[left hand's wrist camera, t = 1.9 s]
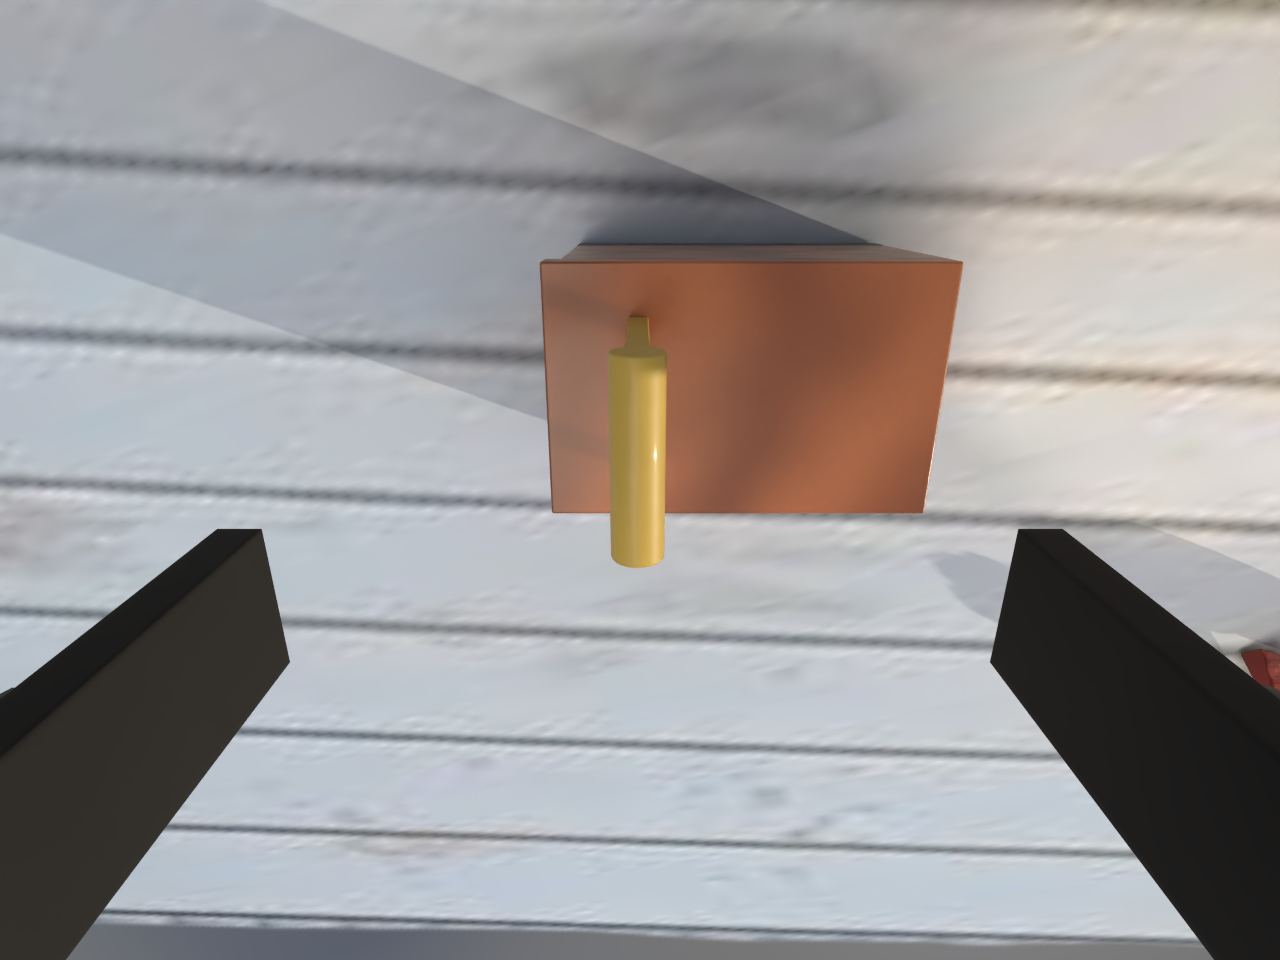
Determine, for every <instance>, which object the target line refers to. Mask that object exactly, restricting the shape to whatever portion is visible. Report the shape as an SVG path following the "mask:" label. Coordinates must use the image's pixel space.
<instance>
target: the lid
mask: <svg viewBox="0 0 1280 960" xmlns="http://www.w3.org/2000/svg"><path fill="white" fill-rule="evenodd" d="M962 268H963V262H961V261H956V260H951V259H545V260H543V261H542V262H540V277H541V298H542V318H543V338H544V359H545V379H546V399H547V419H548V440H549V460H550V480H551V501H552V512H553V513H610V521H611V556H612V559H613V560H614V561H615V562H616V563H618V564H620V565H622V566H626V567H632V568H643V567H649V566H653V565H655V564H657V563H659V562H660V561H661V560H662V559H663V557H664V533H665V513H924V509H925V502H926V496H927V490H928V484H929V477H930V471H931V465H932V458H933V452H934V446H935V439H936V433H937V427H938V420H939V414H940V408H941V401H942V395H943V389H944V382H945V376H946V370H947V363H948V357H949V351H950V344H951V338H952V332H953V325H954V319H955V313H956V306H957V300H958V294H959V287H960V281H961V275H962Z"/></svg>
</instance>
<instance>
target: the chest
mask: <svg viewBox="0 0 1280 960" xmlns="http://www.w3.org/2000/svg"><path fill="white" fill-rule="evenodd" d="M562 259H947V258H942V257H937V256H932V255H927V254H922V253H917V252H912V251H907V250H902V249H897V248H892V247H887V246H883V245H879V244H579V245H578V246H577V247H576V248H575V249H574V250H572V251H571V252H570V253H568V254H567V255H566V256H565V257H563V258H562Z"/></svg>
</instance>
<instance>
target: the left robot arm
mask: <svg viewBox="0 0 1280 960" xmlns="http://www.w3.org/2000/svg"><path fill="white" fill-rule="evenodd" d="M289 663H290V660H289V656H288V651H287V646H286V642H285V637H284V632H283V627H282V623H281V618H280V613H279V609H278V604H277V599H276V595H275V590H274V585H273V580H272V576H271V571H270V566H269V562H268V557H267V552H266V548H265V543H264V538H263V534H262V529H217V530H215V531H214V532H213V533H212V534H210V535H209V536H208V537H207V538H205V539H204V540H203V541H201V542H200V543H199V544H198V545H196V546H195V547H194V548H193V549H191V550H190V551H189V552H187V553H186V554H185V555H184V556H182V557H181V558H180V559H178V560H177V561H176V562H175V563H173V564H172V565H171V566H170V567H168V568H167V569H166V570H164V571H163V572H162V573H161V574H159V575H158V576H157V577H156V578H154V579H153V580H152V581H150V582H149V583H148V584H147V585H145V586H144V587H143V588H142V589H140V590H139V591H138V592H136V593H135V594H134V595H133V596H131V597H130V598H129V599H128V600H126V601H125V602H124V603H122V604H121V605H120V606H119V607H117V608H116V609H115V610H113V611H112V612H111V613H110V614H108V615H107V616H106V617H105V618H103V619H102V620H101V621H99V622H98V623H97V624H96V625H94V626H93V627H92V628H91V629H89V630H88V631H87V632H85V633H84V634H83V635H82V636H80V637H79V638H78V639H77V640H75V641H74V642H73V643H71V644H70V645H69V646H68V647H66V648H65V649H64V650H63V651H61V652H60V653H59V654H57V655H56V656H55V657H54V658H52V659H51V660H50V661H48V662H47V663H46V664H45V665H43V666H42V667H41V668H40V669H38V670H37V671H36V672H34V673H33V674H32V675H31V676H29V677H28V678H27V679H26V680H24V681H23V682H22V683H20V684H19V685H18V686H17V687H15V688H11V689H9V690H7V691H5V692H3V693H1V694H0V960H66V959H67V957H68V956H69V955H70V953H71V952H72V951H73V949H74V948H75V947H76V945H77V944H78V943H79V942H80V940H81V939H82V938H83V936H84V935H85V934H86V932H87V931H88V930H89V928H90V927H91V926H92V924H93V923H94V922H95V920H96V919H97V918H98V916H99V915H100V914H101V912H102V911H103V910H104V908H105V907H106V906H107V904H108V903H109V902H110V900H111V899H112V898H113V896H114V895H115V894H116V892H117V891H118V890H119V888H120V887H121V886H122V884H123V883H124V882H125V880H126V879H127V878H128V876H129V875H130V874H131V872H132V871H133V870H134V869H135V867H136V866H137V865H138V863H139V862H140V861H141V859H142V858H143V857H144V855H145V854H146V853H147V851H148V850H149V849H150V847H151V846H152V845H153V843H154V842H155V841H156V839H157V838H158V837H159V835H160V834H161V833H162V831H163V830H164V829H165V827H166V826H167V825H168V823H169V822H170V821H171V819H172V818H173V817H174V815H175V814H176V813H177V811H178V810H179V809H180V807H181V806H182V805H183V803H184V802H185V801H186V799H187V798H188V797H189V795H190V794H191V793H192V792H193V790H194V789H195V788H196V786H197V785H198V784H199V782H200V781H201V780H202V778H203V777H204V776H205V774H206V773H207V772H208V770H209V769H210V768H211V766H212V765H213V764H214V762H215V761H216V760H217V758H218V757H219V756H220V754H221V753H222V752H223V750H224V749H225V748H226V746H227V745H228V744H229V742H230V741H231V740H232V738H233V737H234V736H235V734H236V733H237V732H238V730H239V729H240V728H241V726H242V725H243V724H244V722H245V721H246V720H247V718H248V717H249V716H250V715H251V713H252V712H253V711H254V709H255V708H256V707H257V705H258V704H259V703H260V701H261V700H262V699H263V697H264V696H265V695H266V693H267V692H268V691H269V689H270V688H271V687H272V685H273V684H274V683H275V681H276V680H277V679H278V677H279V676H280V675H281V673H282V672H283V671H284V669H285V668H286V667H287V665H288V664H289ZM990 663H991V664H992V665H993V667H994V668H995V669H996V671H997V672H998V673H999V675H1000V676H1001V677H1002V679H1003V680H1004V681H1005V683H1006V684H1007V685H1008V687H1009V688H1010V689H1011V691H1012V692H1013V693H1014V695H1015V696H1016V697H1017V699H1018V700H1019V701H1020V703H1021V704H1022V705H1023V707H1024V708H1025V709H1026V711H1027V712H1028V713H1029V715H1030V716H1031V717H1032V718H1033V720H1034V721H1035V722H1036V724H1037V725H1038V726H1039V728H1040V729H1041V730H1042V732H1043V733H1044V734H1045V736H1046V737H1047V738H1048V740H1049V741H1050V742H1051V744H1052V745H1053V746H1054V748H1055V749H1056V750H1057V752H1058V753H1059V754H1060V756H1061V757H1062V758H1063V760H1064V761H1065V762H1066V764H1067V765H1068V766H1069V768H1070V769H1071V770H1072V772H1073V773H1074V774H1075V776H1076V777H1077V778H1078V780H1079V781H1080V782H1081V784H1082V785H1083V786H1084V788H1085V789H1086V790H1087V792H1088V793H1089V794H1090V795H1091V797H1092V798H1093V799H1094V801H1095V802H1096V803H1097V805H1098V806H1099V807H1100V809H1101V810H1102V811H1103V813H1104V814H1105V815H1106V817H1107V818H1108V819H1109V821H1110V822H1111V823H1112V825H1113V826H1114V827H1115V829H1116V830H1117V831H1118V833H1119V834H1120V835H1121V837H1122V838H1123V839H1124V841H1125V842H1126V843H1127V845H1128V846H1129V847H1130V849H1131V850H1132V851H1133V853H1134V854H1135V855H1136V857H1137V858H1138V859H1139V861H1140V862H1141V863H1142V865H1143V866H1144V867H1145V869H1146V870H1147V871H1148V872H1149V874H1150V875H1151V876H1152V878H1153V879H1154V880H1155V882H1156V883H1157V884H1158V886H1159V887H1160V888H1161V890H1162V891H1163V892H1164V894H1165V895H1166V896H1167V898H1168V899H1169V900H1170V902H1171V903H1172V904H1173V906H1174V907H1175V908H1176V910H1177V911H1178V912H1179V914H1180V915H1181V916H1182V918H1183V919H1184V920H1185V922H1186V923H1187V924H1188V926H1189V927H1190V928H1191V930H1192V931H1193V932H1194V934H1195V935H1196V936H1197V938H1198V939H1199V940H1200V942H1201V943H1202V944H1203V946H1204V947H1205V948H1206V950H1207V951H1208V952H1209V953H1210V955H1211V956H1212V957H1213V959H1214V960H1280V691H1279V690H1277V689H1275V688H1273V687H1271V686H1270V685H1261V684H1260V683H1258V682H1257V681H1256V680H1254V679H1253V678H1252V677H1251V676H1249V675H1248V674H1247V673H1246V672H1244V671H1243V670H1242V669H1240V668H1239V667H1238V666H1237V665H1235V664H1234V663H1233V662H1232V661H1230V660H1229V659H1228V658H1226V657H1225V656H1224V655H1223V654H1221V653H1220V652H1219V651H1217V650H1216V649H1215V648H1214V647H1212V646H1211V645H1210V644H1209V643H1207V642H1206V641H1205V640H1203V639H1202V638H1201V637H1200V636H1198V635H1197V634H1196V633H1195V632H1193V631H1192V630H1191V629H1189V628H1188V627H1187V626H1186V625H1184V624H1183V623H1182V622H1181V621H1179V620H1178V619H1177V618H1175V617H1174V616H1173V615H1172V614H1170V613H1169V612H1168V611H1167V610H1165V609H1164V608H1163V607H1161V606H1160V605H1159V604H1158V603H1156V602H1155V601H1154V600H1152V599H1151V598H1150V597H1149V596H1147V595H1146V594H1145V593H1144V592H1142V591H1141V590H1140V589H1138V588H1137V587H1136V586H1135V585H1133V584H1132V583H1131V582H1130V581H1128V580H1127V579H1126V578H1124V577H1123V576H1122V575H1121V574H1119V573H1118V572H1117V571H1116V570H1114V569H1113V568H1112V567H1110V566H1109V565H1108V564H1107V563H1105V562H1104V561H1103V560H1102V559H1100V558H1099V557H1098V556H1096V555H1095V554H1094V553H1093V552H1091V551H1090V550H1089V549H1087V548H1086V547H1085V546H1084V545H1082V544H1081V543H1080V542H1079V541H1077V540H1076V539H1075V538H1073V537H1072V536H1071V535H1070V534H1068V533H1067V532H1066V531H1065V530H1063V529H1018V534H1017V538H1016V543H1015V548H1014V552H1013V557H1012V562H1011V566H1010V571H1009V576H1008V580H1007V585H1006V590H1005V595H1004V599H1003V604H1002V609H1001V613H1000V618H999V623H998V627H997V632H996V637H995V641H994V646H993V651H992V656H991V660H990Z"/></svg>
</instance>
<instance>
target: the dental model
mask: <svg viewBox="0 0 1280 960" xmlns="http://www.w3.org/2000/svg"><path fill="white" fill-rule="evenodd" d="M1241 655H1242V657H1243V659H1244V661H1245V663H1246V665H1247V667H1248V669H1249V671H1250V673H1251V675H1252V677H1253V679H1254V680H1256V681H1257V682H1258V683H1260V684H1261V685H1270V686H1271V687H1273V688H1275V689H1277V690H1279V691H1280V655H1278V654H1276V653H1272V652H1269V651H1265V650H1261V649H1259V650H1254V651H1250V652H1245V653H1242V654H1241Z"/></svg>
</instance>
